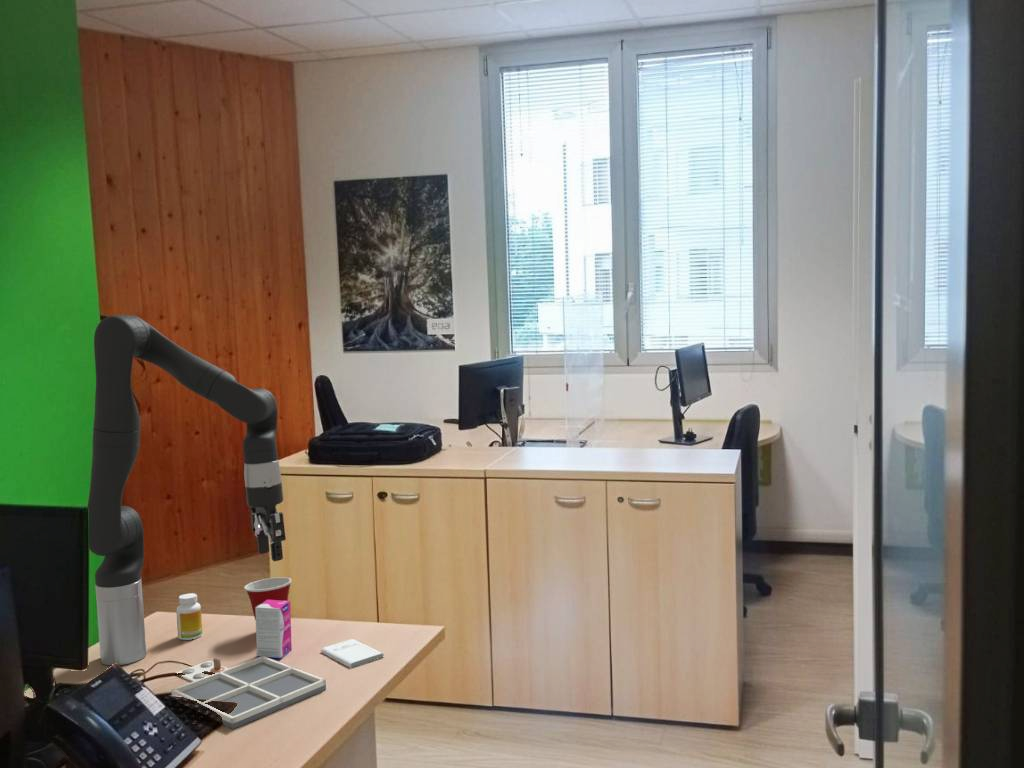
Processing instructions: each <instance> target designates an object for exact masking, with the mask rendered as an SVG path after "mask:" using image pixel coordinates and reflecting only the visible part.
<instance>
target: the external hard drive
mask: <svg viewBox="0 0 1024 768" xmlns="http://www.w3.org/2000/svg"><path fill="white" fill-rule="evenodd" d="M320 651H321V653H322V654H324V655H325V656H327V657H329V658H330V659H333V660H335V661H337V662H339V663H341V664H342V665H344V666H346V667H348V668H350V669H352V668H355V666H356V667H358V665H359V666H361V664H362V665H364V664H363V663H365V664H368V663H370V662H369V661H371V662H373V661H372V660H374V659H377V658H380V657H383V656H385V655H384V653H383V652H382V651H379V650H376V649H374V648H372V647H370V646H369V645H366V644H364V643H361V642H359V641H358V640H356V639H353V638H351V639H347V640H343V641H341V642H338V643H334V644H331V645H330V644H329V645H327V646H324V647H322V648H321V649H320ZM383 658H384V657H383ZM380 659H381V658H380ZM377 660H378V659H377ZM374 661H375V660H374ZM367 662H368V663H367Z"/></svg>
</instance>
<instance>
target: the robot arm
mask: <svg viewBox="0 0 1024 768" xmlns="http://www.w3.org/2000/svg"><path fill="white" fill-rule="evenodd" d="M93 351H94V364H95V365H94V367H95V391H94V392H95V394H94V417H93V427H92V428H93V429H92V445H91V446H92V450H91V451H92V455H91V456H92V458H91V470H90V471H91V472H90V485H89V493H88V494H89V495H88V501H87V507H86V509H87V508H88V509H89V548H88V550H89V551H90V552H91V553H92V554H94V555H96V556H99V557H104V558H103V559H102V562H101V564H100V565H99V567H98V568H97V569H96V570H95V573H94V583H95V585H94V586H95V596H96V597H95V598H96V611H97V613H96V614H97V627H98V641H99V653H100V654H99V655H100V663H101V664H103V665H105V666H113V665H112V664H115V663H117V664H119V665H118V666H123V665H129V664H133V663H136V662H138V661H140V660H142V659H143V658H145V657H146V656H147V644H146V643H147V642H146V627H145V626H146V625H145V614H144V599H143V598H144V597H143V585H142V583H143V582H142V570H143V568H144V567H143V566H144V562H145V540H144V539H145V537H144V536H145V535H144V526H143V521H142V518H141V516H140V514H139V513H138V512H137V511H136V510H135V509H134V508H132V507H131V506H127V505H122V501H123V500H122V499H123V494H124V490H125V486H126V484H127V481H128V478H129V477H130V474H131V472H132V470H133V468H134V466H135V463H136V461H137V458H138V455H139V452H140V450H139V449H140V440H141V417H140V412H139V408H138V404H137V402H136V399H135V397H134V393H133V389H132V372H133V371H132V370H133V361H134V358H136V359H139V360H142V361H145V362H148V363H150V364H153V365H154V366H157V367H158V368H161V369H162V370H163V371H164V372H167V373H168V374H169V375H170V376H171V377H173V379H175V380H176V381H177V382H178V383H179V384H181V385H182V386H183V387H185V388H186V389H188V390H190V391H191V392H193V393H195V394H197V396H200V397H202V398H204V399H205V400H208V401H210V402H212V403H215V404H216V405H217V406H219V408H221V409H222V410H224V411H225V412H226V413H228V414H229V415H230V416H232V418H235V419H236V420H238V421H241V422H242V423H245V424H246V435H245V436H244V437H243V440H242V451H243V452H242V453H243V462H244V463H243V464H244V471H243V475H244V476H243V477H244V486H245V495H246V496H245V497H246V505H247V506H248V507H249V509H250V519H251V532H252V533H254V536H255V537H256V540H257V542H256V543H257V552H258V554H261V555H262V554H266V553H269V552H270V556H271V557H270V558H271V560H272V561H273V562H279V561H282V560H283V558H284V555H283V553H284V552H283V544H282V543H283V542H284V541H286V531H285V529H286V528H285V521H284V513H283V511H282V512H281V511H280V512H278V510H277V505H280V504H282V503H283V501H284V493H283V491H284V490H283V482H282V473H281V467H280V461H279V455H278V453H279V451H278V444H277V432H278V431H277V429H278V415H279V414H278V404H277V399H276V397H275V396H274V395H273V393H272V392H271V391H270V390H268V389H266V388H261V387H260V388H254V389H252V388H249V387H247V386H245V385H243V384H242V383H240V382H238V381H237V379H236V377H235V376H234V375H233V374H231V373H230V372H228V371H226V370H224V369H222V368H220V367H218V366H216V365H214V364H213V363H211V362H208V361H207V360H206V359H202V358H201V357H199V356H197V355H195V354H193V353H191V352H189V350H187V349H184V348H183V347H181V346H180V345H178V344H177V343H175V342H174V341H172V340H170V338H167V337H166V336H165V335H164V334H162V332H160V331H159V330H157V329H156V328H154V327H153V326H152V325H151V324H150V323H148V322H147V321H145V320H144V319H142V318H141V317H139V316H137V315H132V314H119V315H118V314H117V315H111V316H108V317H104V318H103V319H102V320H101V321H100V322H99V323H98V324H97V326H96V328H95V330H94V335H93ZM269 543H270V544H269Z"/></svg>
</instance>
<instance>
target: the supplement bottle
mask: <svg viewBox="0 0 1024 768" xmlns="http://www.w3.org/2000/svg"><path fill="white" fill-rule="evenodd" d="M178 604H179V605H178V606H177V607H176V611H175V612H176V624H177V638H178V639H179V640H181V641H191V640H192V639H193V640H196V639H199V638H200V637H203V636H202V635H203V622H202V606H201V604H200V602H198V595H197V593H186V594H185V593H184V594H180V595H179V596H178Z"/></svg>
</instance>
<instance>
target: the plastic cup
mask: <svg viewBox="0 0 1024 768" xmlns="http://www.w3.org/2000/svg"><path fill="white" fill-rule="evenodd" d="M292 581H293V580H292V578H290V577H285V576H284V577H283V576H281V577H280V576H278V577H269V578H268V577H267V578H262V579H258V580H256V581H252V582H249V583H247V584H245V586H244V587H243V588H244V590H245V591H246V592H247V595H248V599H249V600H250V606H251V609H252V613H253V616H254V620H255V621H256V612H255V608H256V607H257V606H259V605H260V604H262V603H263V602H265V601H266V600H282V601H289V594H290V587H291V583H292Z"/></svg>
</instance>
